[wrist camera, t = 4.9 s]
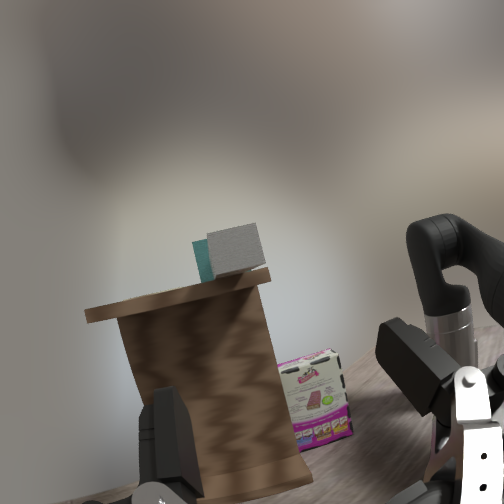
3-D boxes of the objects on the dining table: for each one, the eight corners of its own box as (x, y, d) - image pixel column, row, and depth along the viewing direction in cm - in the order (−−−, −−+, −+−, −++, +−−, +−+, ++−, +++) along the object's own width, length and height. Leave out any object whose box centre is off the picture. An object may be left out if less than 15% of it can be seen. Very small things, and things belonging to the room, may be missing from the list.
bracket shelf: (298, 456, 39) (251, 271, 41) (322, 496, 27) (267, 265, 30) (183, 482, 36) (117, 302, 38) (178, 527, 24) (83, 307, 26)
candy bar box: (345, 423, 45) (330, 346, 47) (354, 434, 40) (340, 353, 42) (288, 441, 45) (267, 365, 46) (292, 455, 40) (271, 374, 41)
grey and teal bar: (245, 274, 40) (237, 239, 41) (289, 257, 18) (268, 180, 18) (203, 284, 39) (194, 248, 40) (191, 280, 17) (174, 199, 17)
